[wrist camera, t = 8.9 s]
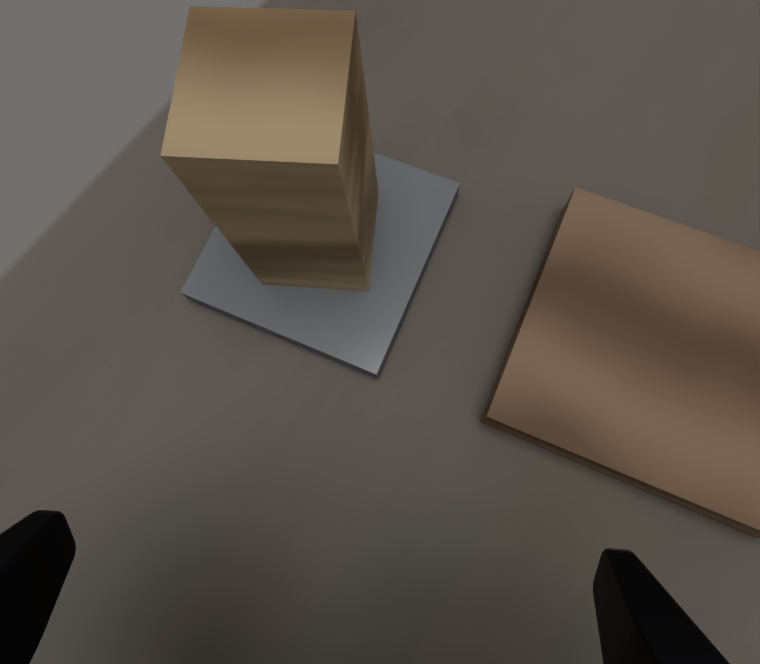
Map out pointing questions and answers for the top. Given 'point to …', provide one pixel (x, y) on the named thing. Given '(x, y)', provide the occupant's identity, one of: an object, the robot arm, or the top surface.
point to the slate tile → (336, 306)
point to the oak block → (278, 141)
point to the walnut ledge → (642, 358)
